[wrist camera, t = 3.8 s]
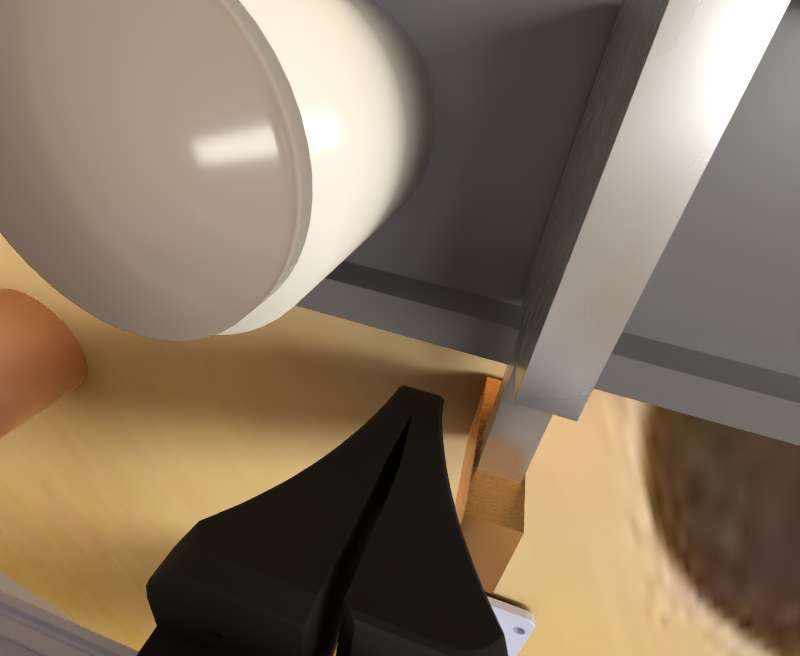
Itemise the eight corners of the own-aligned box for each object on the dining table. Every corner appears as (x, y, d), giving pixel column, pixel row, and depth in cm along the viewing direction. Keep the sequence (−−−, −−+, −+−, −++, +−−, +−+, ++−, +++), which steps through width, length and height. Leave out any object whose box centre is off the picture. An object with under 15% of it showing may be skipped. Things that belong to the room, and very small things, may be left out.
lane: (864, 417, 10) (992, 547, 8) (218, 247, 13) (127, 293, 10) (1303, -20, 6) (2037, -118, 3) (183, -141, 9) (6, -252, 6)
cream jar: (414, 250, 11) (303, 404, 6) (236, 207, 11) (-5, 307, 6) (457, 4, 8) (320, -132, 3) (222, -32, 9) (-208, -187, 4)
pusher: (505, 444, 14) (491, 598, 10) (468, 433, 14) (440, 579, 10) (677, 13, 8) (836, -63, 4) (609, 3, 8) (688, -81, 4)
